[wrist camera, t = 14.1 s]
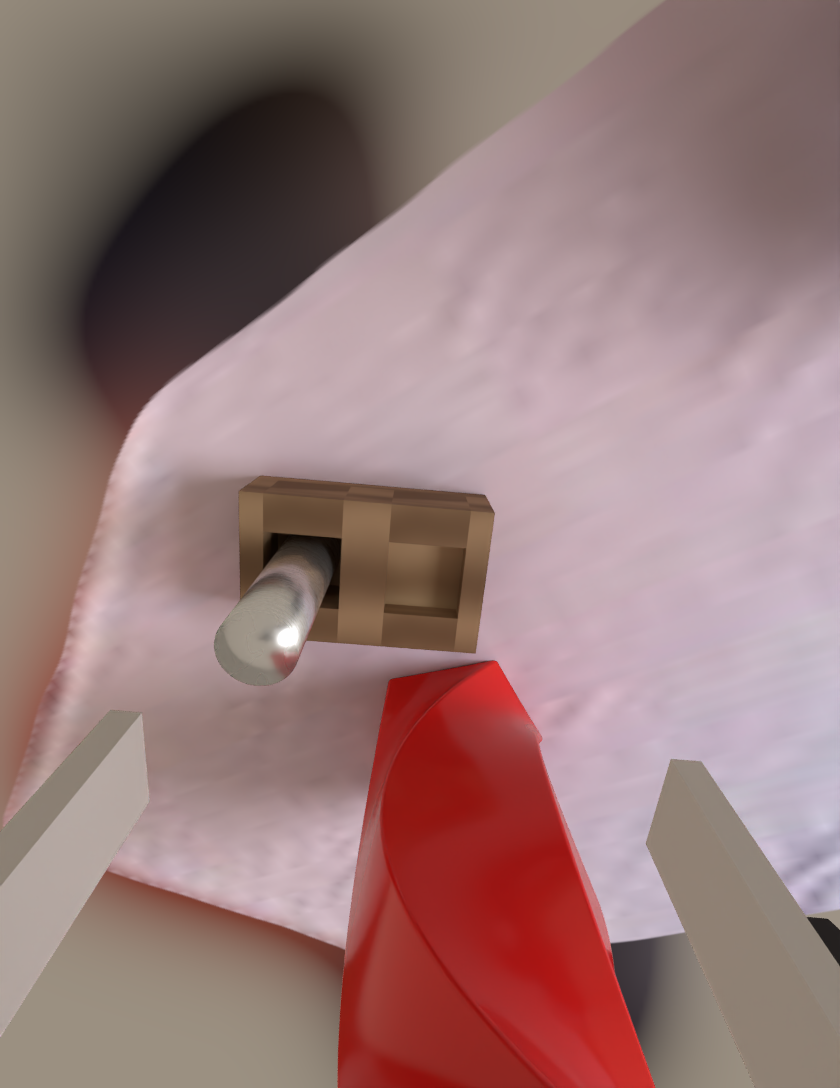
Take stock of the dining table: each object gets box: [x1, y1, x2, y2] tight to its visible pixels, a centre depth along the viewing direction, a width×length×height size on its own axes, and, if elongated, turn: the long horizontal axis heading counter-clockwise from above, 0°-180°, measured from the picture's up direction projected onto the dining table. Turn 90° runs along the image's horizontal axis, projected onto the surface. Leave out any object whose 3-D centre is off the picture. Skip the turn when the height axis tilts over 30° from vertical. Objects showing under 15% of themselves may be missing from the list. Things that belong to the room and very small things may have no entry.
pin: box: [214, 534, 340, 686], centre depth 32 cm, size 4×4×14 cm
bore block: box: [239, 476, 495, 653], centre depth 38 cm, size 10×16×5 cm, turn 85°
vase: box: [337, 661, 655, 1088], centre depth 32 cm, size 15×14×28 cm
